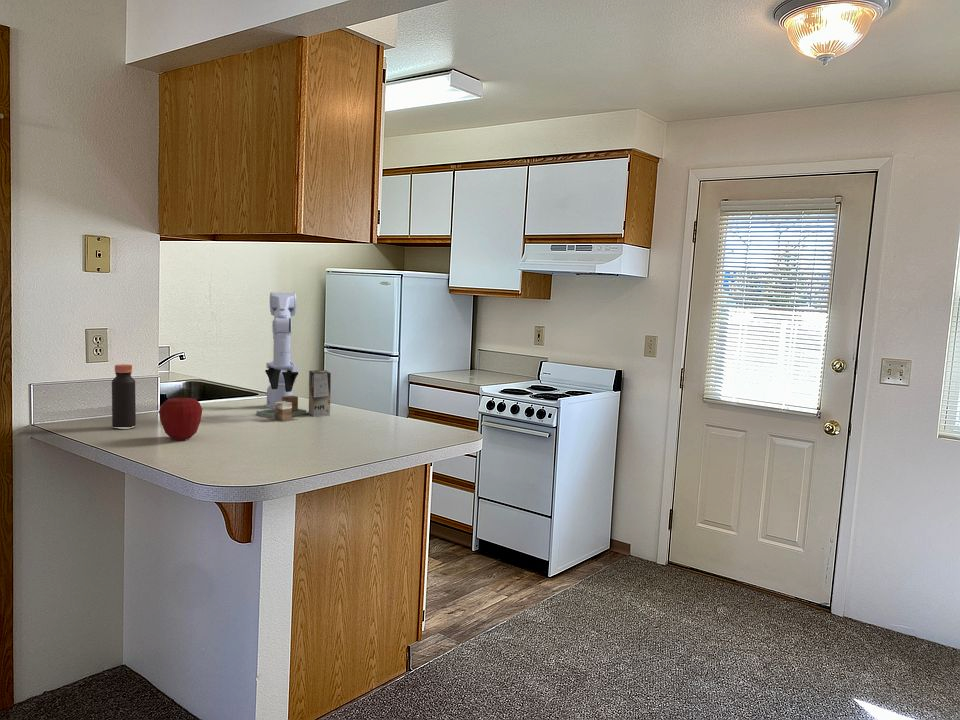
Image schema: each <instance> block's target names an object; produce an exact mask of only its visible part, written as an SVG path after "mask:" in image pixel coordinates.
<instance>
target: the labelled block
mask: <svg viewBox="0 0 960 720" xmlns="http://www.w3.org/2000/svg"><path fill="white" fill-rule="evenodd" d="M274 409H275V418H274V419H275V420H279V421H286V420H292V418H293V417H292V403H291V402H286V401H282V402H275V408H274Z"/></svg>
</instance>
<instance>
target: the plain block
mask: <svg viewBox="0 0 960 720" xmlns="http://www.w3.org/2000/svg"><path fill="white" fill-rule="evenodd" d="M282 401H286V402H291V403H292V412H296V411H298V409H299V396H296V395H292V396H282Z"/></svg>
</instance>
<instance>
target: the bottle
mask: <svg viewBox="0 0 960 720" xmlns="http://www.w3.org/2000/svg"><path fill="white" fill-rule="evenodd" d="M132 372H133V366H132V364H126V363H125V364H115V365H114V374H115V377H114V378H113V379H112V380H111V427H112V426H113V427H132V426H135V425H136V426H137V424H136V423H137V417H136V414H137V412H136V379H134V378H133V377H132Z"/></svg>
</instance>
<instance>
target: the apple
mask: <svg viewBox="0 0 960 720" xmlns="http://www.w3.org/2000/svg"><path fill="white" fill-rule="evenodd" d="M158 414H159V419H160V424H161V425H162V429H163V430H164V433H165V434H166V435H167V437H169V438H171V440H173V439H175V441H185V440H184V439H188V440H190V439H191V438H192V437H193V436H194V435H196V434H197V432H198V428H199V427H200V423H201V421H202V416H203V407H202V405H201V403H200V402H199V401H198V400H197V399H196V398H193V397H182V395H180V397H173V398H168V399H166V400H165V401H164V402H163V403H162V404H161V405H160V408H159V410H158ZM189 438H190V439H189Z"/></svg>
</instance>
